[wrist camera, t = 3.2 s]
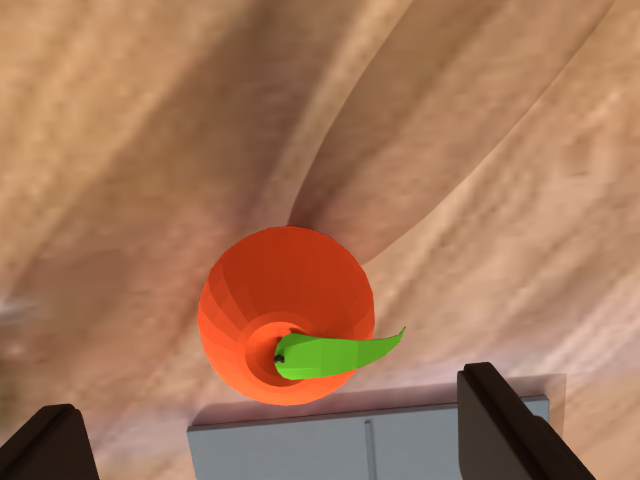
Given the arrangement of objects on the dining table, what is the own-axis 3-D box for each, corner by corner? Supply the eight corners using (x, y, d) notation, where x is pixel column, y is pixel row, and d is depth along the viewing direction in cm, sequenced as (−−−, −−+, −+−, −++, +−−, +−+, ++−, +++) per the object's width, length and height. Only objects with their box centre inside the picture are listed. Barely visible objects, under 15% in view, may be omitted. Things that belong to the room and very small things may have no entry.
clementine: (391, 214, 19) (435, 259, 12) (381, 348, 20) (414, 457, 13) (218, 209, 18) (160, 252, 11) (223, 345, 20) (174, 452, 13)
